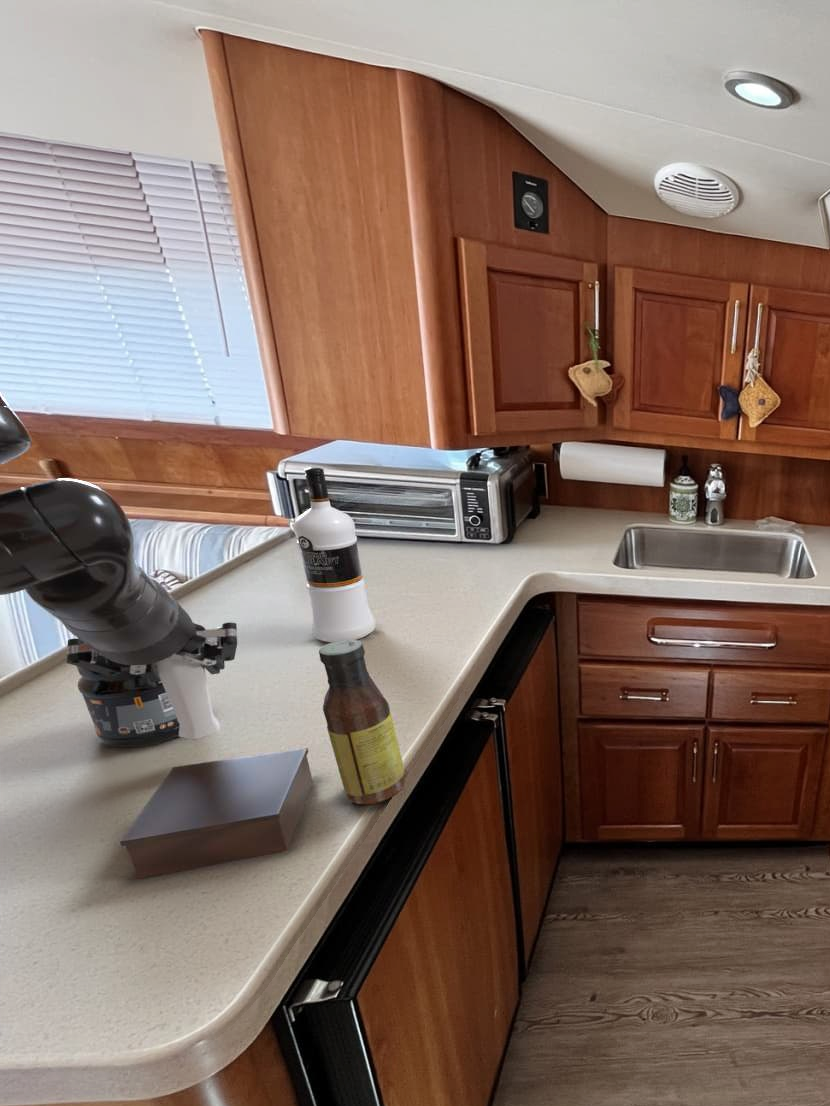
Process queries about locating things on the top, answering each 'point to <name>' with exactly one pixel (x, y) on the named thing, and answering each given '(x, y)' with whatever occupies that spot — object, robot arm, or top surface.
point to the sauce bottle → (360, 726)
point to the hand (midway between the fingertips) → (187, 670)
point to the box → (220, 812)
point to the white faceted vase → (188, 697)
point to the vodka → (332, 567)
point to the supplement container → (128, 708)
